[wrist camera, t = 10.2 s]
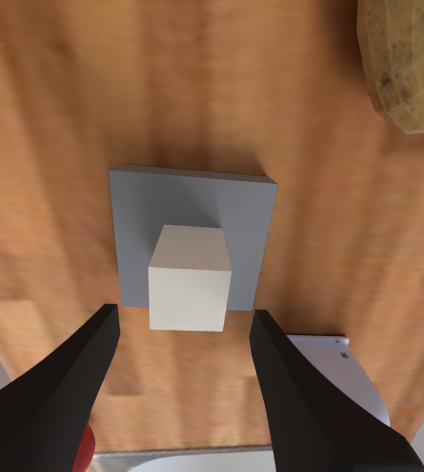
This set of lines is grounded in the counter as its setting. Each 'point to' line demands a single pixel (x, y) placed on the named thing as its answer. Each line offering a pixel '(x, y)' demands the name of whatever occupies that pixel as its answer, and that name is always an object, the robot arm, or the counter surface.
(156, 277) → the cream block
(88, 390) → the robot arm
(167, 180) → the riser block
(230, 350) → the counter surface
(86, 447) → the onion
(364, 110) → the counter surface
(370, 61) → the potato
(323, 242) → the counter surface
